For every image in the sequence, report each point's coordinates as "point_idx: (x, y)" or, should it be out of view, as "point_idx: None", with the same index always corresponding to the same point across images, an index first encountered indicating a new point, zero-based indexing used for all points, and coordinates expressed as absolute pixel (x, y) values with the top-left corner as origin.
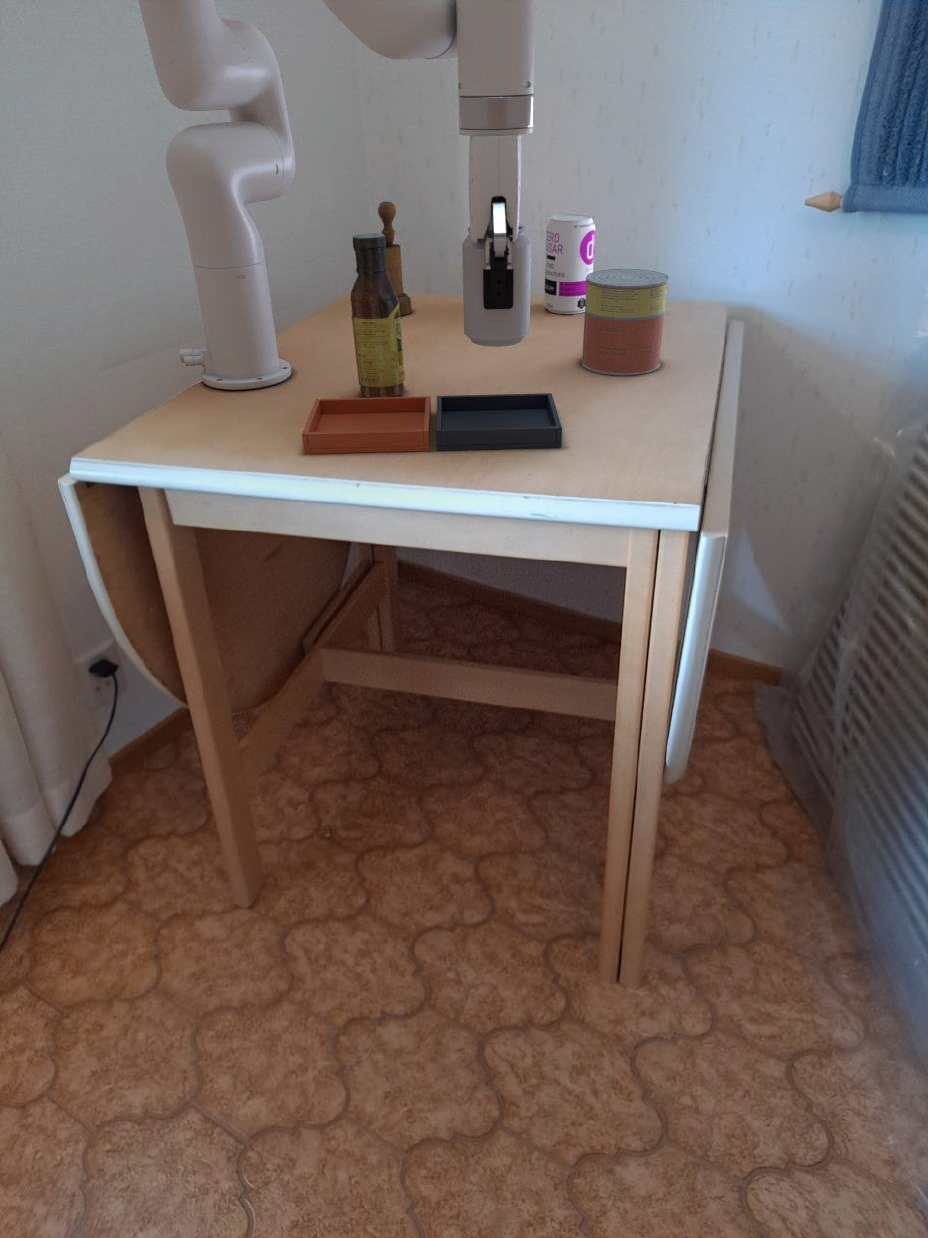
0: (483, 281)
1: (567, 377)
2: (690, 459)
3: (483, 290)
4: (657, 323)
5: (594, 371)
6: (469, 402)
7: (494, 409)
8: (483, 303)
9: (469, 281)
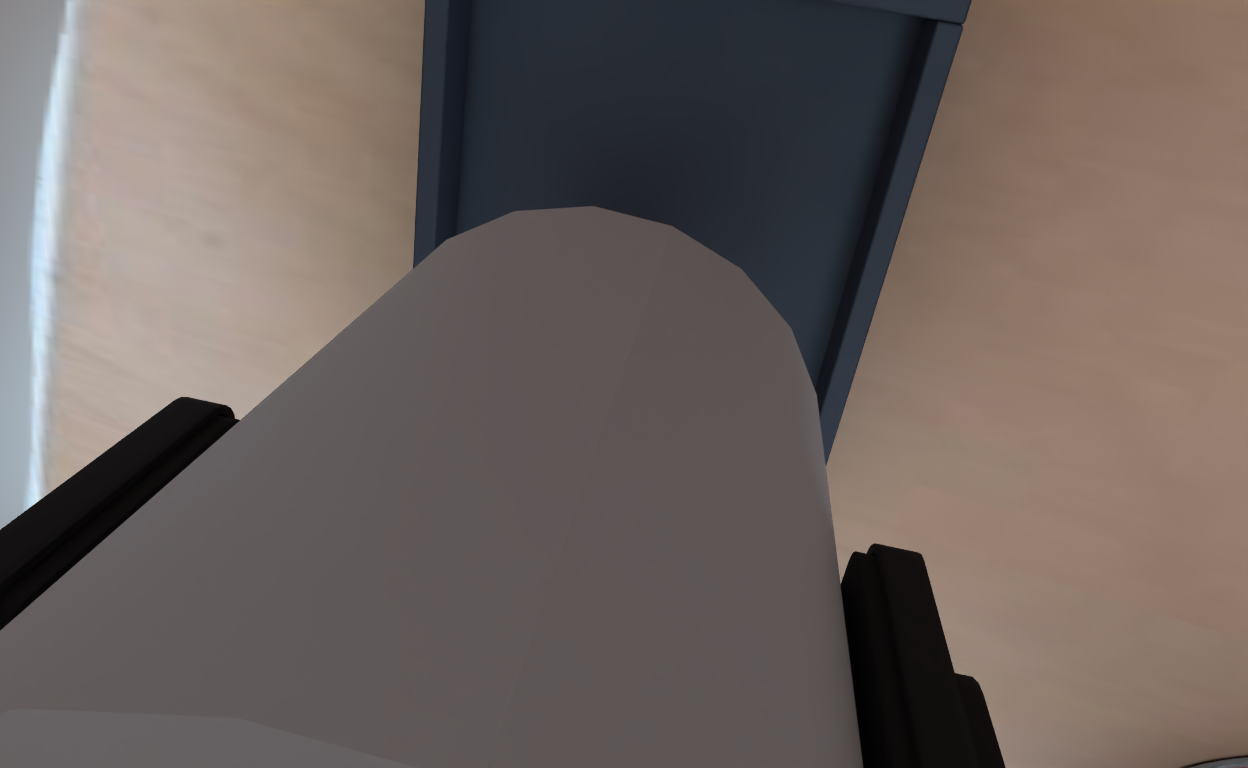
0: (13, 524)
1: (1191, 664)
2: None
3: (83, 471)
4: None
5: (1197, 765)
6: (886, 168)
7: (846, 275)
8: (162, 409)
9: (263, 416)
